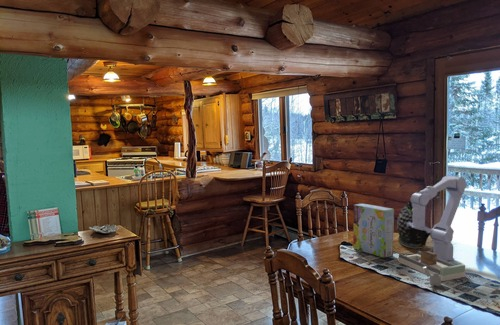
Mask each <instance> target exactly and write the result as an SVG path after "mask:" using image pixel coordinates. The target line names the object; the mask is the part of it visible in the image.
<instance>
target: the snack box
mask: <svg viewBox="0 0 500 325" xmlns="http://www.w3.org/2000/svg"><path fill="white" fill-rule="evenodd" d="M394 220H395V208H390V207H385V206H379V205H374V204H367V203H358V204H357V203H356V204H353V234H352V236H353V237H352V239H353V242H352V243H353V245H352V246H353V247H352V249H353V248H354V250H356V249H357V250H356V251H360V252H363V253H366V254H370V255H374V256H377V257H381V258H384V259H385V258H388V257H391V256H394V232H395V231H394V226H395V225H394V224H395V223H394Z"/></svg>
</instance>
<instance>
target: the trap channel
mask: <svg viewBox="0 0 500 325" xmlns="http://www.w3.org/2000/svg"><path fill="white" fill-rule="evenodd" d="M421 252H422V251H420V250H417V253H415V254H410V255H405V254H402V253H399V254H398V257H397V258H398V259H397V260H398V261H397V262H398V263H401V264H403V265H405V266H406V267H409V268H412V269H413V270H416V271H417V272H421V273H423V274H425V275H427V274H426V272H425V270H424V268H423V267H425V266H426V267H427V269H428V271H429V273H430V274H433V273H438V274H439V275H440V276H441V282H445V281H450V280H456V279H461V277H462V278H466V264H463V263H462V264H455V263H452V262H449V261H444V260H442V259H439V258H437V264H434V265H426V264H424V263H422V262H421Z"/></svg>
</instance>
